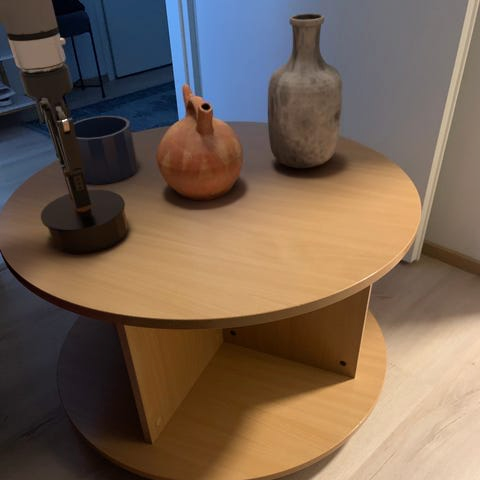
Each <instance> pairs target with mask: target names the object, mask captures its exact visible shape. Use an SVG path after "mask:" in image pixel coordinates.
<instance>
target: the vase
mask: <svg viewBox="0 0 480 480" xmlns="http://www.w3.org/2000/svg"><path fill="white" fill-rule="evenodd" d="M324 22H325V16H324V15H323V14H321V13H311V12H309V13H298V14H294V15H291V16H290V17H289V25H290V26H291V27H292V28H291V30H292V49H291V54H290V56H289V58H288V60H287V61H286V62H285V64H283V65H281V66H280V67H278V68H276V69H275V70H274V71H273V72H272V73H271V75H270V77H269V81H268V87H267V131H268V141H269V147H270V151H271V153H272V155H273V158H275V159H276V161H278V162H279V163H281V164H282V165H284V166H287V167H290V168H293V169H310V168H314V167H318V166H320V165H323V164H324V163H326V162H328V161H329V160H331V158H332V157H333V156H334V154H335V151H336V149H337V145H338V141H339V136H340V129H341V120H342V119H341V118H342V110H343V109H342V108H343V107H342V106H343V79H342V76H341V74H340V72H339V70H338V69H337V68H335V66H333V65H331V64H328V63H327V62H326V61H325V59H324V58H323V56H322V54H321V49H320V48H321V47H320V40H321V30H322V24H324Z"/></svg>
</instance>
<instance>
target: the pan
mask: <svg viewBox="0 0 480 480" xmlns="http://www.w3.org/2000/svg"><path fill="white" fill-rule="evenodd" d="M128 225H129V224H128V220H127V215H126V211H125V210H124V211H123V212H122V214H121V215H120V216H119V217H118V218H116V219H115V220H113V221H112V222H110V223H108V224H106V225H103V226H101V227H98V228H95V229H91V230H86V231H80V232H61V231H55V230H52V229H50V228H48V227H47V229H48V233H49V235H50V238H51V241H52V243H53V245H54V248H56V249H57V250H59V251H60V252H62V253H65V254H68V255H69V254H70V255H89V254H96V253H99V252H103V251H106V250H108V249H110V248H113V247H114V246H116V245H117V244H120V242H121V241H123V240H124V239H125V237H126V236H127V234H128V231H129V227H128Z"/></svg>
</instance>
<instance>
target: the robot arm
mask: <svg viewBox="0 0 480 480" xmlns="http://www.w3.org/2000/svg"><path fill="white" fill-rule="evenodd" d="M0 25H3V27H4V29H5V31H6V32H5V33H6V36H7V40H8V44H9V46H10V49H11V53H12V56H13V60H14V62H15V65H16V67H18V69H20V70H19V77H20V80H21V84H22V87H23V90H24V93H25V95H26V96H28V97H29V98H31V99H37V100H38V99H39V100H40V99H41V100H40V101H39V108H40V112H41V113H42V115H43V116H44V120H45V123H46V127H47V128H48V132H49V135H50V138H51V141H52V145H53V149H54V151H55V157H56V159H58V161H59V164H60V166H61V169H62V174H63V177H64V180H65V184H66V187H67V191H68V194H70V197H71V200H72V196H71V193H70V189H69V186H68V183H67V179H66V177H67V178H68V181H69V185H70V188H71V191H72V195H73V198H74V202H75V205H76V208H77V209H78V208H82V207H85V206H89V205H91V201H90V197H89V194H88V190H89V189H88V187H87V183H86V182H85V179H84V175H83V173H85V169H84V166H83V162H82V158H81V154H80V150H79V146H78V142H77V138H76V134H75V128H74V123H75V121H74V119H73V117H71V114H72V113H71V110H70V106H69V103H66V102H65V100H64V99H63V96H64V95H66V94H69V93H70V92H72V90H73V88H74V84H73V80H72V75H71V73H70V68H69V66H68V64H67V63H65V62H66V60H67V57H66V54H65V50H64V48H63V46H65V45H66V39H65V38H64V37H61V35H60V29H59V26H58V22H57V18H56V14H55V8H54V5H53V1H52V0H0ZM65 167H66V169H67V172H64V168H65ZM72 201H73V200H72Z"/></svg>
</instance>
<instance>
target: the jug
mask: <svg viewBox="0 0 480 480" xmlns="http://www.w3.org/2000/svg"><path fill="white" fill-rule="evenodd" d="M181 91H182V100H183V103H184V108H185V115H184V117H183V118H181V119H180V120H178V121H176V122H174V123H173V124H172V125H171V126H170V127H169V128H168V129H167V130H166V132H165V133H164V135H163V137H162V138H161V140H160V143H159V145H158V147H157V153H156V162H157V163H156V164H157V167H158V170H159V171H160V174H161V176H162V179H163V180H164V181H165V182H166V183H167V184H168V186H169V187H171V188H172V190H174V191H175V192H177V193H178V194H179V195H180V196H182V197H184V198H186V199H189V200H192V201H209V200H215V199H217V198H220V197H222V196H224V195H226V194H227V193H228V192H230V190H231V189H232V188H233V186H234V184H235V183H236V181H237V179H239V176H240V174H241V171H242V168H243V163H244V150H243V146H242V144H241V141H240V138H239V137H238V135H237V134H236V132H235V131H234V130H233V128H232V127H231V126H229V124H227V123H226V122H225V121H223V120H222V119H219V118H216V117H214V110H213V106H212V104H211V103H210V102H208V101H205V100H204V98H203V97H201V96H197V95H195V93H193V91H192V89H191V87H190V86H189V85H188V83H184V84H182V89H181Z"/></svg>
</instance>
